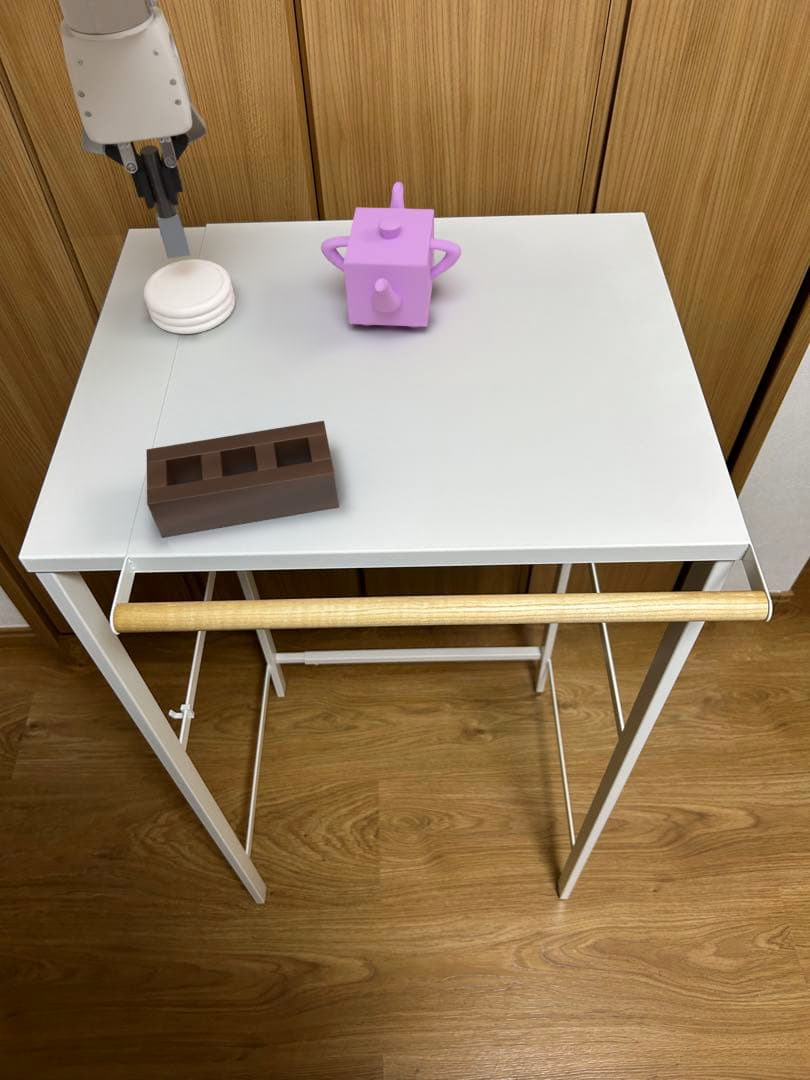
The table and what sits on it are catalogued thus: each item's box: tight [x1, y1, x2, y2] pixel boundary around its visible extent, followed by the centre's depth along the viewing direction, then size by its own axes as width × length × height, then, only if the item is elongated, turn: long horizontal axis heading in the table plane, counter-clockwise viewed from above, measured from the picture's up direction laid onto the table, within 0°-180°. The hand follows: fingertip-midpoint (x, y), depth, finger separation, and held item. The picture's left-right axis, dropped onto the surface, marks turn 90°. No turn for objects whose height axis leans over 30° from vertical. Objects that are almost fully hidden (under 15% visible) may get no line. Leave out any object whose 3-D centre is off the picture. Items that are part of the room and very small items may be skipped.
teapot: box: [320, 181, 462, 329], centre depth 92 cm, size 15×13×11 cm
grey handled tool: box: [139, 144, 191, 260], centre depth 87 cm, size 2×2×12 cm
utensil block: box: [145, 420, 340, 538], centre depth 78 cm, size 7×17×5 cm, turn 101°
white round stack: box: [143, 258, 236, 335], centre depth 96 cm, size 10×10×4 cm
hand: (162, 198), depth 87 cm, fingers closed on grey handled tool, 1 cm apart
